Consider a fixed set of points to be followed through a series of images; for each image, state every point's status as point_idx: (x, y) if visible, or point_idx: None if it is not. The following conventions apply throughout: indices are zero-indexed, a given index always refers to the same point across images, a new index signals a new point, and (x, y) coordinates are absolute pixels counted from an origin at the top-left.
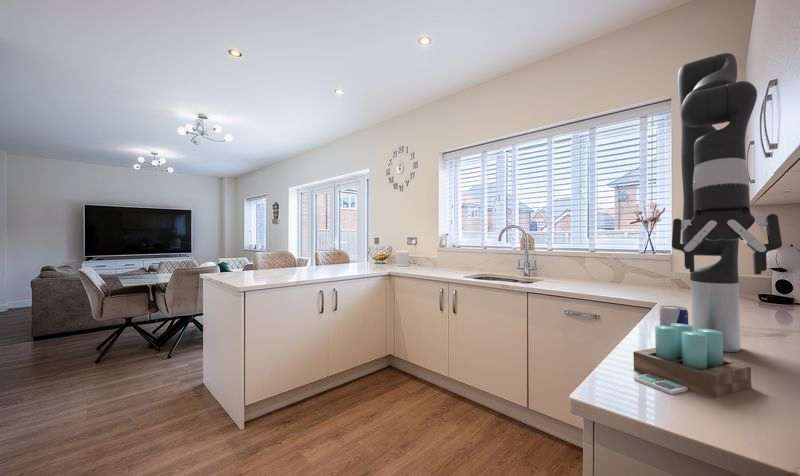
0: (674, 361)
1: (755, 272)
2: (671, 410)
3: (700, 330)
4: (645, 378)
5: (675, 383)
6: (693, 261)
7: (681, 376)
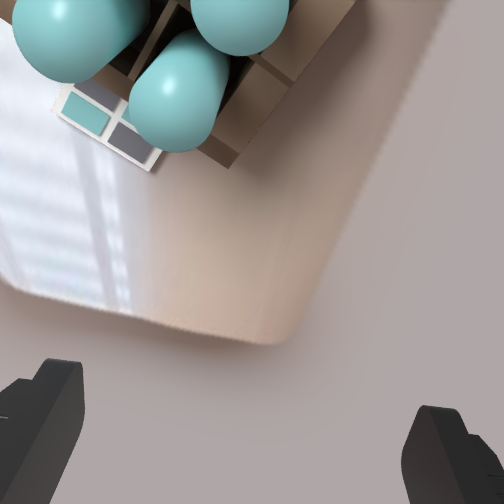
0: (135, 71)
1: (403, 463)
2: (153, 252)
3: (201, 11)
4: (80, 117)
5: None
6: (48, 492)
7: None
